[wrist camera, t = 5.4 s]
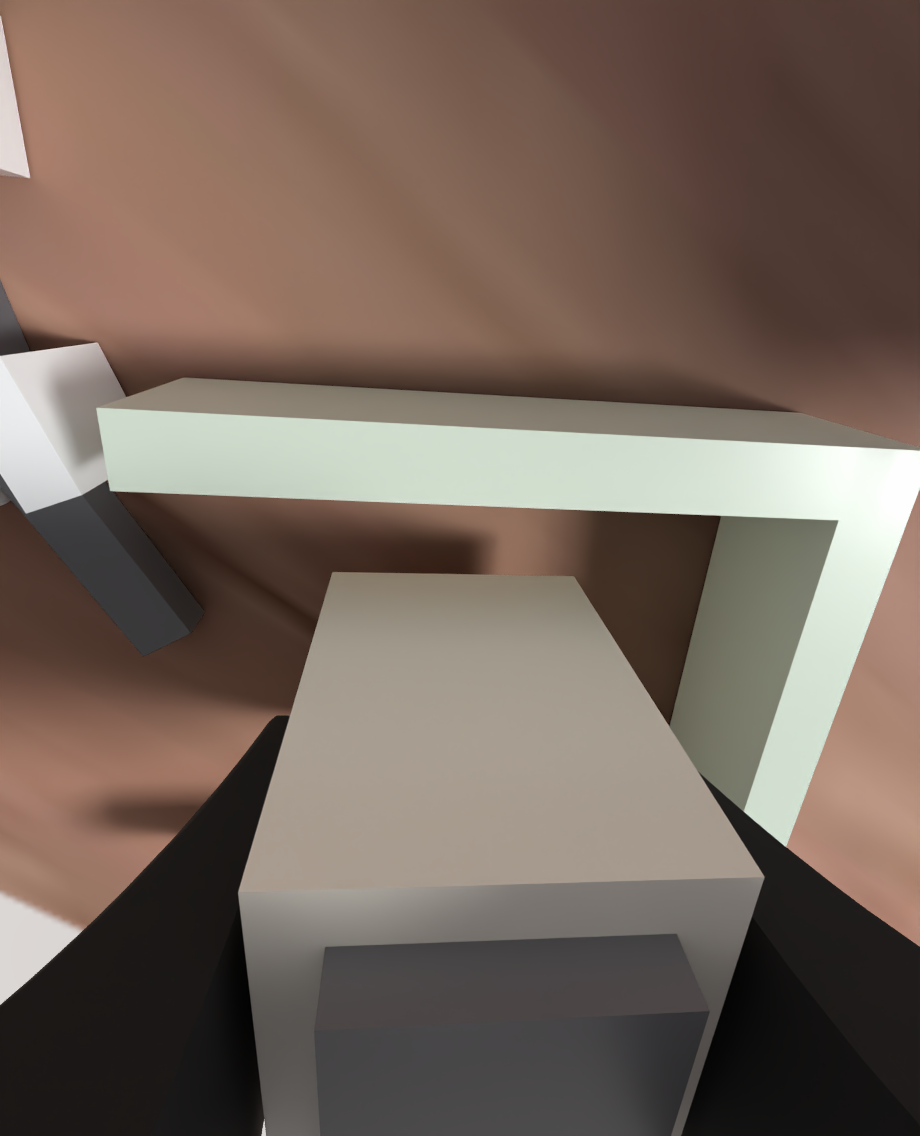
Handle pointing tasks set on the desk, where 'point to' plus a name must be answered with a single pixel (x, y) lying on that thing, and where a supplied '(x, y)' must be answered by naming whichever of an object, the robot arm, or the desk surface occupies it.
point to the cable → (109, 549)
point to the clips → (47, 382)
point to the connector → (484, 876)
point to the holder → (600, 483)
